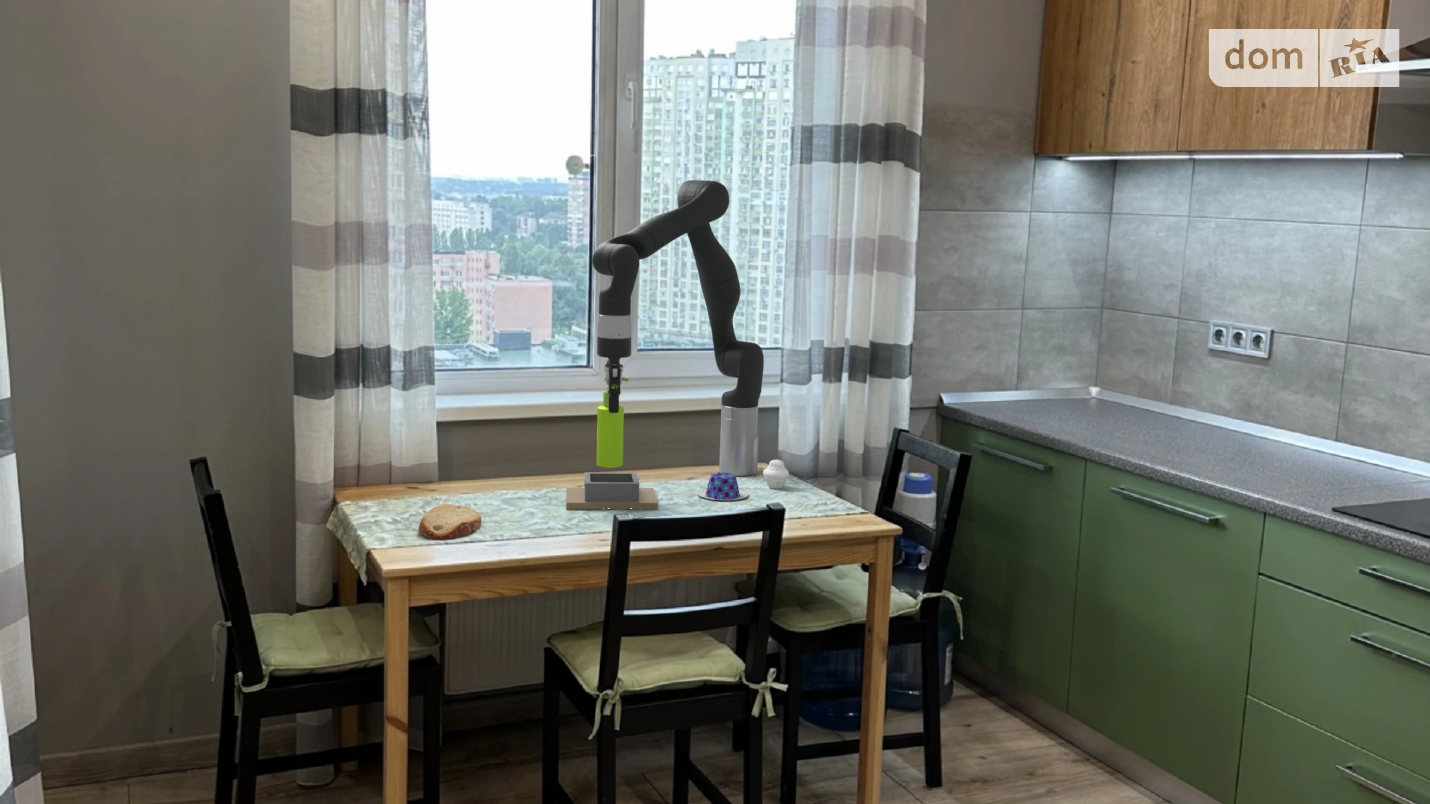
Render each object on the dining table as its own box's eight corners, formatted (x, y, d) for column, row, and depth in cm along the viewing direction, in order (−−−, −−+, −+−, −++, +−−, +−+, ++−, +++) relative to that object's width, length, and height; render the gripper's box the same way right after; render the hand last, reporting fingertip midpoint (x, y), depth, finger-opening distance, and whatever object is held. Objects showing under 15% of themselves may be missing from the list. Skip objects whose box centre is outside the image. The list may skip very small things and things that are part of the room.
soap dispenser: (626, 468, 273) (627, 379, 270) (595, 467, 274) (596, 378, 270) (628, 462, 279) (630, 375, 276) (598, 461, 279) (599, 374, 276)
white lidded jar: (788, 485, 299) (790, 457, 298) (787, 491, 293) (789, 462, 292) (763, 483, 300) (764, 455, 299) (761, 489, 294) (762, 461, 293)
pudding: (688, 498, 284) (688, 476, 283) (709, 488, 295) (710, 466, 294) (736, 505, 279) (736, 483, 278) (756, 494, 290) (756, 472, 289)
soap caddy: (653, 494, 286) (653, 471, 285) (657, 509, 272) (658, 485, 271) (566, 494, 283) (566, 470, 282) (566, 509, 270) (566, 485, 269)
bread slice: (456, 511, 267) (456, 494, 266) (509, 528, 255) (509, 510, 254) (385, 526, 253) (384, 508, 253) (437, 544, 242) (436, 526, 241)
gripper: (633, 339, 265) (631, 416, 268) (629, 331, 279) (628, 404, 282) (598, 338, 264) (597, 415, 267) (596, 331, 278) (595, 404, 281)
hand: (613, 409), depth 274 cm, fingers closed on soap dispenser, 6 cm apart
